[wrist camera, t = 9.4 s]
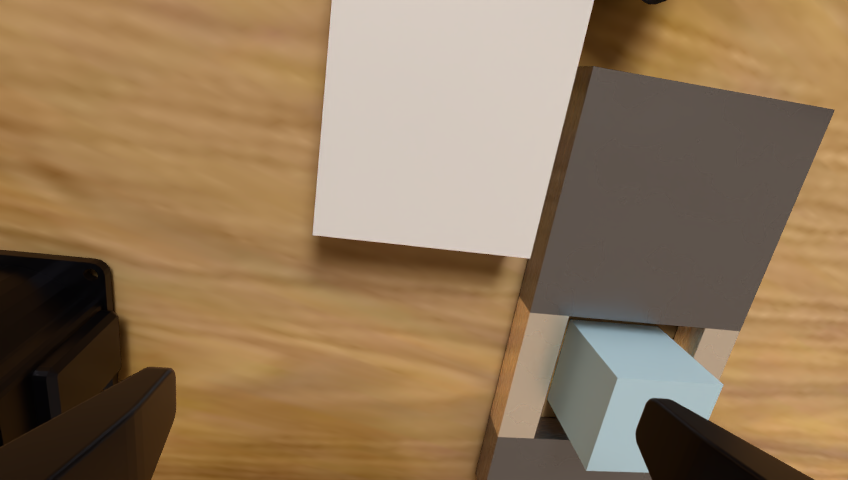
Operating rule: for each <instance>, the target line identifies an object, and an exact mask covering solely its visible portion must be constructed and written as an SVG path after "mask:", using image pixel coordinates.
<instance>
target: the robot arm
mask: <svg viewBox="0 0 848 480" xmlns="http://www.w3.org/2000/svg"><path fill="white" fill-rule="evenodd" d="M89 269H93V270H95V271H96V272H97V274H98V277H96V276H93V275H92V274H91V273H90V271H89ZM120 368H121V353H120V337H119V322H118V316H117V315H116V313H115V312H114V311H113V302H112V288H111V273H110V269H109V267H108V265H107V264H106V263H105V262H103V261H102V260H98V259H93V258H82V257H72V256H61V255H50V254H40V253H29V252H18V251H7V250H0V480H151V478H152V476H153V473H154V471H155V468H156V465H157V463H158V460H159V458H160V455H161V452H162V450H163V447H164V445H165V442H166V440H167V437H168V434H169V432H170V429H171V427H172V424H173V421H174V418H175V413H176V376H175V372H174V370H173V369H172V368H163V367H147V368H145V369H143V370H141V371H139V372H137V373H135V374H133V375H132V376H130V377H128V378H126V379H124V380H122V381H121V382H119V383H118V375H117V372H118V371H119V370H120ZM102 390H104V391H102ZM635 436H636V442H637V445H638V448H639V450H640V452H641V455H642V457H643V460H644V462H645V464H646V467H647V469H648V472H649V474H650V477H651V479H652V480H814V479H812V478H810V477H809V476H807V475H805V474H803V473H801V472H800V471H798V470H796V469H794V468H793V467H791V466H789V465H787V464H785V463H784V462H782V461H780V460H778V459H777V458H775V457H773V456H771V455H769V454H768V453H766V452H764V451H762V450H760V449H759V448H757V447H755V446H753V445H752V444H750V443H748V442H746V441H744V440H743V439H741V438H739V437H737V436H736V435H734V434H732V433H730V432H728V431H727V430H725V429H723V428H721V427H719V426H718V425H716V424H714V423H712V422H711V421H709V420H707V419H705V418H703V417H702V416H700V415H698V414H696V413H695V412H693V411H691V410H689V409H687V408H686V407H684V406H682V405H680V404H678V403H677V402H675V401H673V400H671V399H663V398H651V399H649V400H648V401H647V402H646V404H645V407H644V409H643V412H642V415H641V417H640V420H639V423H638V425H637V428H636V433H635Z"/></svg>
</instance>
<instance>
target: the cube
mask: <svg viewBox="0 0 848 480" xmlns="http://www.w3.org/2000/svg"><path fill="white" fill-rule="evenodd" d="M722 387H723V384H722V383H721V382H720V381H719V380H718V379H716V378H715V377H714V376H713V375H712V374H711V373H710V372H709V371H707V370H706V369H705V368H704V367H703V366H702V365H701V364H700V363H698V362H697V361H696V360H695V359H694V358H693V357H692V356H690V355H689V354H688V353H687V352H686V351H685V350H684V349H683V348H681V347H680V346H679V345H678V344H677V343H676V342H675V341H674V340H672V339H671V338H670V337H669V336H668V335H667V334H666V333H664V332H663V331H662V330H661V329H660V328H659V327H658V326H646V325H634V324H622V323H610V322H598V321H586V320H574V319H570V321H569V324H568V328H567V331H566V335H565V338H564V342H563V345H562V349H561V352H560V356H559V359H558V363H557V366H556V370H555V373H554V377H553V380H552V384H551V387H550V391H549V394H548V398H547V400H548V402H549V403H550V405H551V407H552V409H553V411H554V413H555V414H556V416H557V418H558V420H559V422H560V424H561V426H562V427H563V429H564V431H565V433H566V435H567V437H568V438H569V440H570V442H571V444H572V446H573V448H574V449H575V451H576V453H577V455H578V457H579V459H580V460H581V462H582V464H583V466H584V468H585V470H586V471H609V472H643V473H649V472H648V469H647V467H646V464H645V462H644V460H643V457H642V455H641V452H640V450H639V448H638V445H637V442H636V436H635V433H636V428H637V425H638V423H639V420H640V417H641V415H642V412H643V409H644V407H645V404H646V402H647V401H648V400H649V399H651V398H663V399H671V400H673V401H675V402H677V403H678V404H680V405H682V406H684V407H686V408H687V409H689V410H691V411H693V412H695V413H696V414H698V415H700V416H702V417H703V418H705V419H707V420H709V417H710V415H711V413H712V410H713V408H714V406H715V403H716V401H717V399H718V396H719V394H720V392H721V389H722Z"/></svg>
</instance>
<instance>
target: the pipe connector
mask: <svg viewBox="0 0 848 480" xmlns="http://www.w3.org/2000/svg"><path fill="white" fill-rule="evenodd" d="M642 1H643V2H645V3H647V4H658V3H661V2H664V1H666V0H642Z"/></svg>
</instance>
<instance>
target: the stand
mask: <svg viewBox="0 0 848 480" xmlns="http://www.w3.org/2000/svg"><path fill="white" fill-rule="evenodd" d="M593 3H594V0H332V6H331V18H330V30H329V42H328V55H327V67H326V79H325V91H324V103H323V115H322V127H321V139H320V151H319V164H318V176H317V188H316V200H315V212H314V224H313V235H316V236H325V237H335V238H344V239H353V240H363V241H372V242H381V243H390V244H400V245H409V246H418V247H427V248H437V249H446V250H455V251H464V252H474V253H483V254H492V255H501V256H511V257H520V258H529V259H530V257H531V253H532V249H533V245H534V241H535V237H536V233H537V229H538V225H539V221H540V217H541V213H542V209H543V205H544V201H545V197H546V193H547V189H548V185H549V180H550V176H551V172H552V168H553V164H554V160H555V156H556V152H557V148H558V144H559V140H560V136H561V132H562V128H563V124H564V120H565V116H566V112H567V108H568V104H569V100H570V96H571V92H572V88H573V84H574V79H575V75H576V71H577V67H578V63H579V59H580V55H581V51H582V47H583V43H584V39H585V35H586V31H587V27H588V23H589V19H590V15H591V11H592V7H593Z"/></svg>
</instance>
